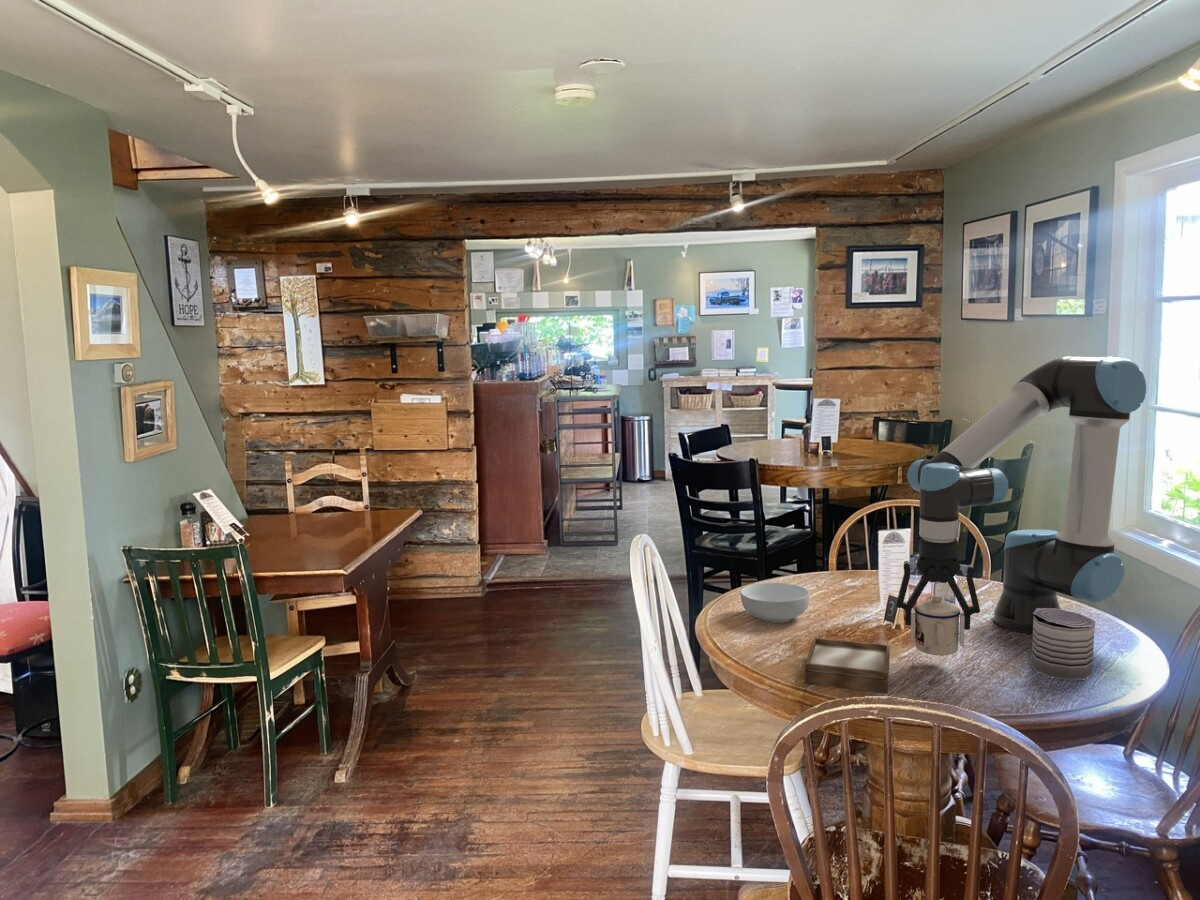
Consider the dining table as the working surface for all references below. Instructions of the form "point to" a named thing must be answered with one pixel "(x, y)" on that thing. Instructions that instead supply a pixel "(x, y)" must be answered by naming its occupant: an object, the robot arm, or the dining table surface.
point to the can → (1062, 644)
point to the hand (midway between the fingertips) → (936, 641)
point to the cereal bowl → (775, 601)
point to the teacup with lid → (937, 626)
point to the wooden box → (848, 665)
